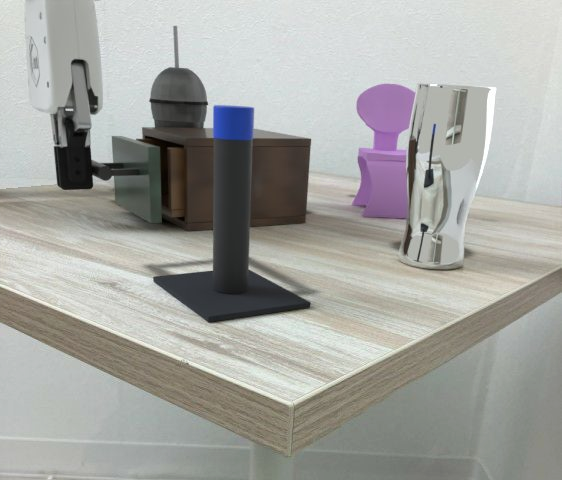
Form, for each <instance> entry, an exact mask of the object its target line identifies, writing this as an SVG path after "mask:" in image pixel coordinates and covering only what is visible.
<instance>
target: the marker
mask: <svg viewBox="0 0 562 480" xmlns="http://www.w3.org/2000/svg"><path fill="white" fill-rule="evenodd" d="M212 111H213V113H212V117H213V118H212V128H213V137H214V189H213V229H212V271H213V290H214V291H216V292H219V293H224V294H240V293H244V292H246V291H247V290H248V271H249V270H250V268H249V267H250V235H251V227H250V207H251V175H252V143H253V135H254V129H255V125H254V124H255V107H252V106H246V105H245V106H244V105H227V104H216V105H215V104H214V105H213V108H212Z"/></svg>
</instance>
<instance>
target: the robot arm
mask: <svg viewBox="0 0 562 480" xmlns="http://www.w3.org/2000/svg"><path fill="white" fill-rule="evenodd" d="M95 1H96V2H97V1H99V0H24V34H25V35H24V36H25V37H24V38H25V51H26V53H25V55H26V67H27V69H26V70H27V83H28V84H27V85H28V97H29V103H30V106H31V107H32V108H33V109H35V110H36V111H38V112H42V113H45V114H48V115H49V117H50V123H51V131H52V140H53V153H54V164H55V175H56V185H57V187H58V188H60V189H61V190H63V191H80V190H83V191H84V190H86V191H87V190H92V189H93V188H94V176H93V174H92V160H93V159H92V148H91V142H92V141H91V129H92V116H95V115H96V116H97V114H99V113H100V112H101V110H102V109H103V104H104V89H103V69H102V59H101V58H102V57H101V48H100V37H99V29H98V18H97V12H96V4H95Z"/></svg>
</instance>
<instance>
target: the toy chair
mask: <svg viewBox="0 0 562 480" xmlns="http://www.w3.org/2000/svg"><path fill="white" fill-rule="evenodd" d="M415 92H416V91H414V90H412V89H410V88H409V87H407V86H404V85H401V84H397V83H380V84H376V85H373V86H371V87H369V88H366V89H365V90H363V92H361V93H360V94H359V96H358V97H357V100H356V106H355V107H356V113H357V115H358V117H359V118H360V119H361V121H362V122H364V124H365V125H366V126H367V127H368V128H369V129H370V130H372V131H373V144H372V148H370V147H358V153H357V164H358V168H359V171H360V183H359V188H358V190H357V192H356V195H355V196H354V199H353V200H352V203H351V205H352V206H365V207H364V210H363V211H362V213H361V217H366V218H390V219H391V218H393V219H407V182H406V149H398V140H399V135H400V134H401V133H402V132H404V131H406V130H407V131H408V130H409V123H410V117H411V112H412V107H413V102H414V98H415Z"/></svg>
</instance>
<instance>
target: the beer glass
mask: <svg viewBox="0 0 562 480" xmlns="http://www.w3.org/2000/svg"><path fill="white" fill-rule="evenodd" d="M415 86H416V88H415V91H414V92H415V98H414V102H413V107H412V112H411V117H410V123H409V129H407V137H406V138H407V139H406V148H405V150H406V182H407V218H406V221H405V222H406V223H405V228H404V231H403V232H404V233H403V236H402V239H401V243H400V246H399V249H398V252H397V260H398V261H399V262H400V263H402V264H405V265H407V266H411V267H415V268H419V269H420V268H421V269H425V270H426V269H427V270H437V271H446V270H447V271H448V270H456V269H460V268H462V267H463V266H464V263H465V232H466V225H467V221H468V216H469V213H470V210H471V206H472V204H473V202H474V201H473V200H474V197H475V196H476V192H477V189H478V187H479V183H480V182H481V177H482V175H483V171H484V168H485V165H486V162H487V157H488V153H489V148H490V143H491V137H492V131H493V130H492V129H493V122H494V112H495V103H496V102H495V100H496V92H497V87H494V86H480V85H461V84H460V85H459V84H444V83H443V84H441V83H421V82H420V83H419V82H418V83H416V85H415Z"/></svg>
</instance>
